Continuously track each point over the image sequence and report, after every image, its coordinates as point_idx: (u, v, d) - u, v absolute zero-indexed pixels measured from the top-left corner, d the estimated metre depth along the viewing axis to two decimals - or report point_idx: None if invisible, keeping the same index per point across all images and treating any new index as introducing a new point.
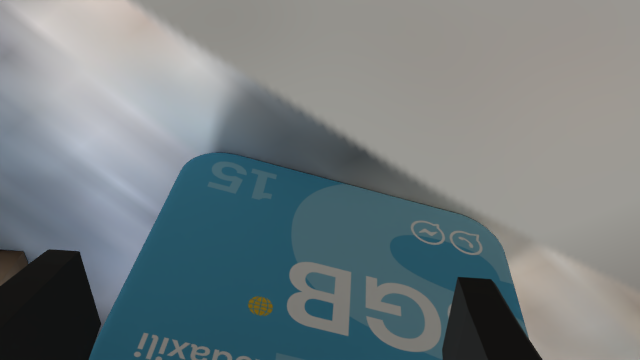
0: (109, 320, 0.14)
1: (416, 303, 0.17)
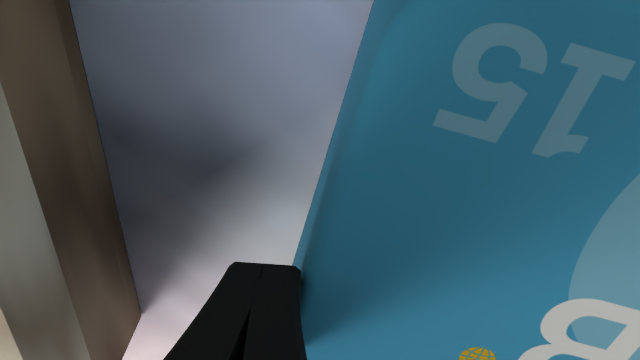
0: None
1: None
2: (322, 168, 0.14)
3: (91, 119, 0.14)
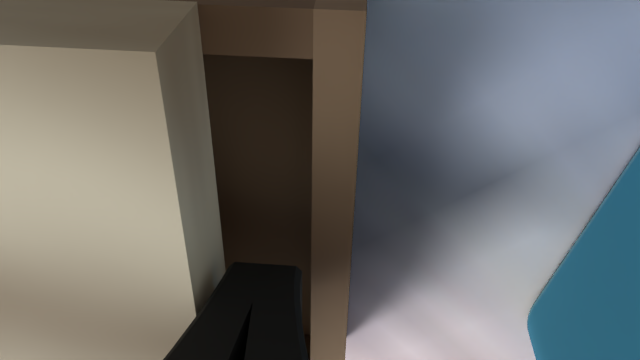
0: None
1: None
2: (613, 197, 0.13)
3: None
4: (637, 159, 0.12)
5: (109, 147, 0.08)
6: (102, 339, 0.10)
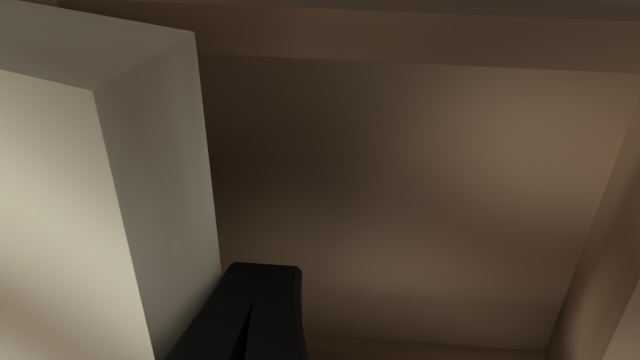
0: None
1: None
2: None
3: None
4: None
5: (62, 179, 0.07)
6: None
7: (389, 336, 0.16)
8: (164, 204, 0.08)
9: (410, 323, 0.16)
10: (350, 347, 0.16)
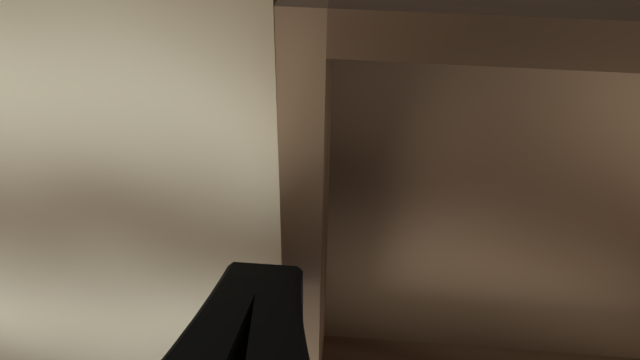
0: None
1: None
2: None
3: None
4: None
5: (227, 70, 0.10)
6: (199, 244, 0.12)
7: (540, 347, 0.16)
8: None
9: (564, 334, 0.15)
10: (501, 358, 0.16)
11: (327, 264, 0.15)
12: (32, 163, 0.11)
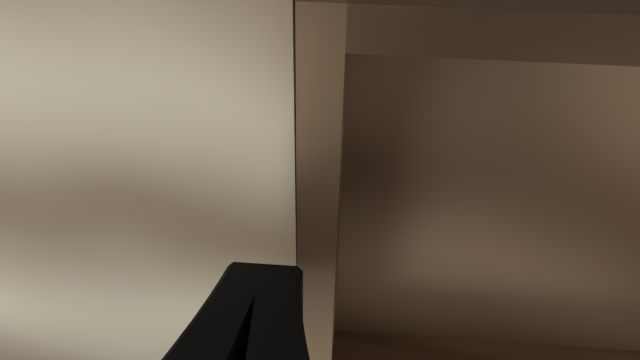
0: None
1: None
2: None
3: None
4: None
5: (245, 65, 0.10)
6: (214, 238, 0.12)
7: (548, 341, 0.16)
8: None
9: (573, 328, 0.16)
10: (510, 352, 0.16)
11: (338, 258, 0.15)
12: (50, 157, 0.12)
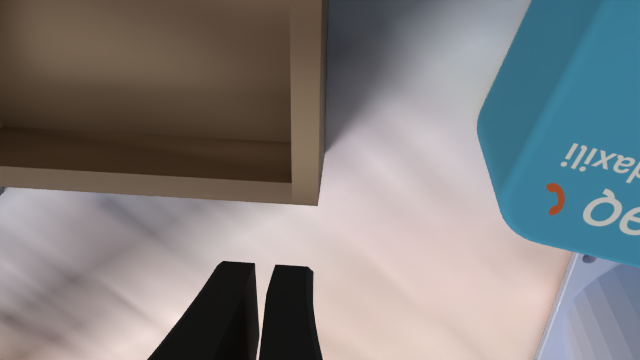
0: (542, 127, 0.14)
1: None
2: None
3: None
4: None
5: None
6: None
7: (172, 131, 0.19)
8: None
9: (186, 117, 0.19)
10: (138, 139, 0.19)
11: None
12: None
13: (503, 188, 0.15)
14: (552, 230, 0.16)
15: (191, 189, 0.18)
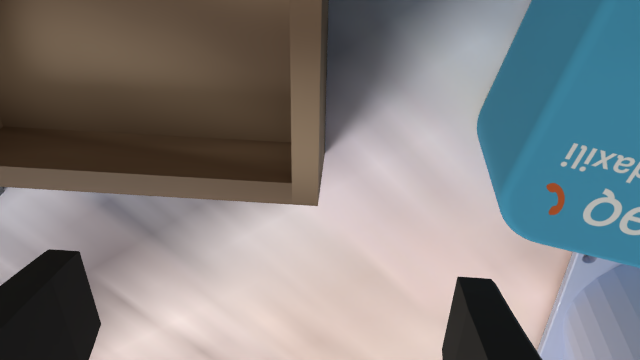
0: (542, 127, 0.14)
1: None
2: None
3: None
4: None
5: None
6: None
7: (172, 131, 0.19)
8: None
9: (186, 117, 0.19)
10: (138, 139, 0.19)
11: None
12: None
13: (503, 188, 0.15)
14: (552, 230, 0.16)
15: (191, 189, 0.18)
